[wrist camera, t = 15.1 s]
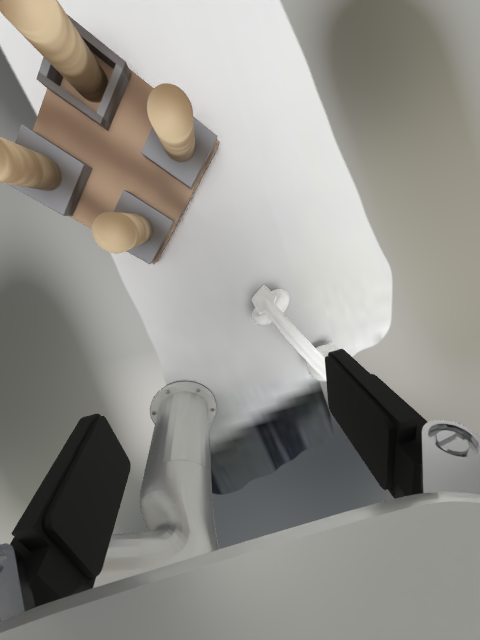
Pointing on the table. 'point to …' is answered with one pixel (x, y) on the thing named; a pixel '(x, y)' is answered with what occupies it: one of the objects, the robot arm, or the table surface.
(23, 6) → the oak leg
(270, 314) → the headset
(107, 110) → the stool
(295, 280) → the table surface
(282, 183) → the table surface
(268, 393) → the table surface
